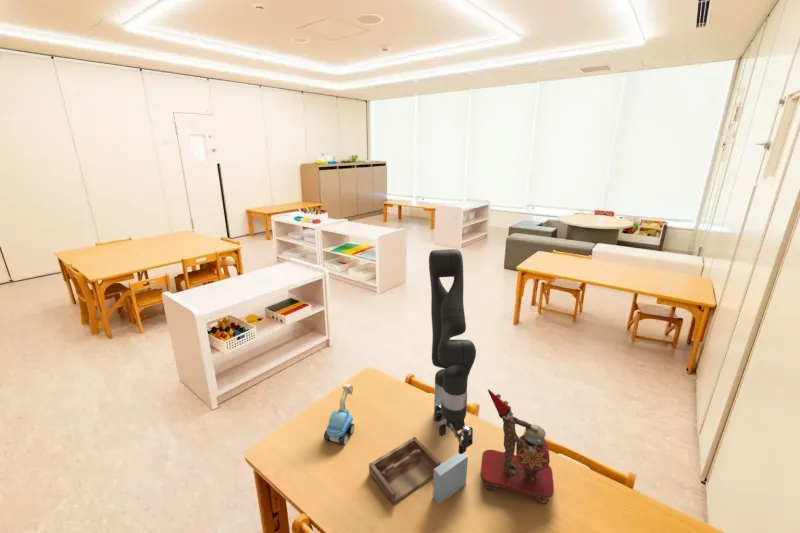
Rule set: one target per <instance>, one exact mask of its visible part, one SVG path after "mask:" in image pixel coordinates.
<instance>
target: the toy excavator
mask: <svg viewBox="0 0 800 533" xmlns="http://www.w3.org/2000/svg"><path fill="white" fill-rule="evenodd" d="M342 389H343V390H342V394H341V396H340V400H339V409H338V410H333V411H332V412H331V414H330V417H329V420H328V425H327V427H326V430H325V432H324V434H323V440H324V441H326V442H330V441H332V442H335V443H338V444H339V445H343V446H346V443H347V441H348V439H349V435H353V433H354V431H355V423H353V420H354V418H353V417H354V416H353V415H352V414H350V411H349V409H346V401H347V397H348V395H353V392H354V387H353V385H352V384H349V383H343V384H342Z"/></svg>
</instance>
